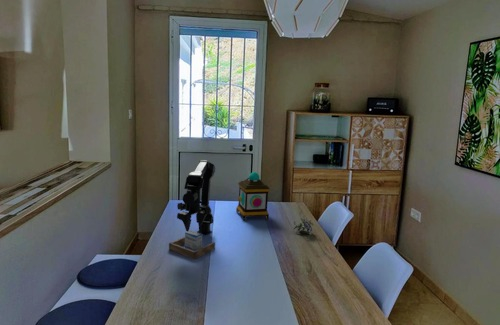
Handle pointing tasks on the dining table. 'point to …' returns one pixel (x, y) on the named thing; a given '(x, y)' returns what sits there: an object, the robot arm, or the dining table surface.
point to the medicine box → (193, 240)
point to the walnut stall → (192, 254)
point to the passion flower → (305, 226)
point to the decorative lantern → (253, 197)
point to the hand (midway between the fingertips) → (193, 228)
